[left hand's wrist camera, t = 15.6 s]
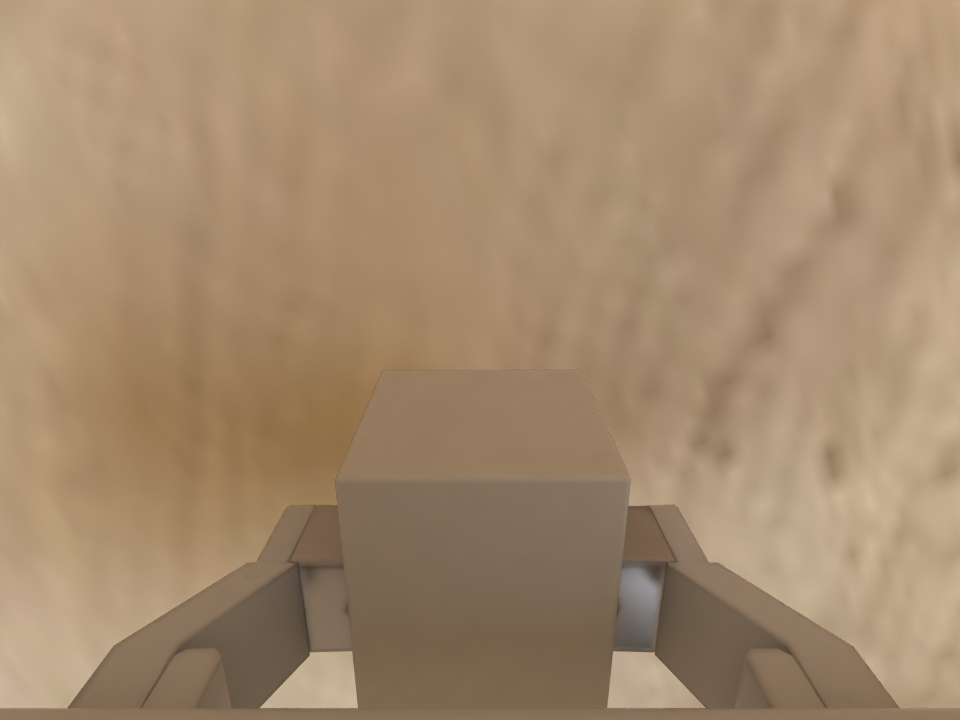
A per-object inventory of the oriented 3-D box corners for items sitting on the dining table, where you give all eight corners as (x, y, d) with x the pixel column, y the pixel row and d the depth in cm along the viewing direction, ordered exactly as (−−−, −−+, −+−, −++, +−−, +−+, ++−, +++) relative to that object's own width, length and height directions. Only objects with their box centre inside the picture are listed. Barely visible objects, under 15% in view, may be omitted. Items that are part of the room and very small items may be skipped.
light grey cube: (569, 554, 13) (607, 722, 9) (393, 555, 13) (357, 722, 9) (581, 368, 11) (633, 477, 8) (381, 368, 11) (332, 478, 8)
